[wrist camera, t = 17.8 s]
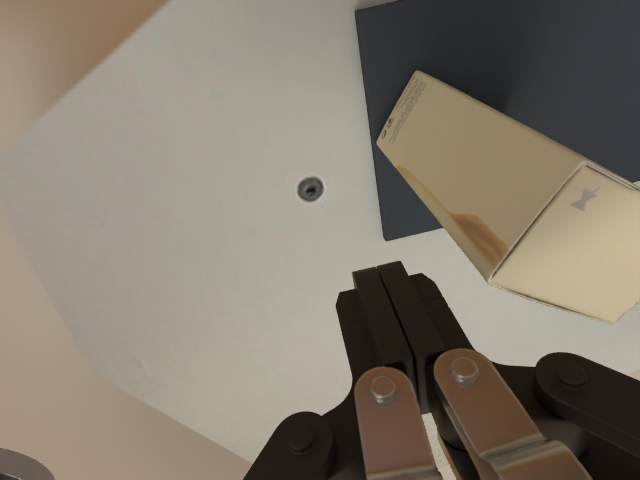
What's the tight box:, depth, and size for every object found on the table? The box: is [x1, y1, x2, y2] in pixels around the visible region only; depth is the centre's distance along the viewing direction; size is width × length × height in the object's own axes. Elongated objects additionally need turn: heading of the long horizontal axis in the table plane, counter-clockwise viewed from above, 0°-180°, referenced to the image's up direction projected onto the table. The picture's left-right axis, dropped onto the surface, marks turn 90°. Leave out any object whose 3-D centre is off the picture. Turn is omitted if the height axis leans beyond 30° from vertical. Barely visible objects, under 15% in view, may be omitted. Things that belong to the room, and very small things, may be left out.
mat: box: [355, 0, 640, 241], centre depth 22 cm, size 18×13×1 cm
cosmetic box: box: [377, 70, 640, 324], centre depth 17 cm, size 6×4×12 cm
